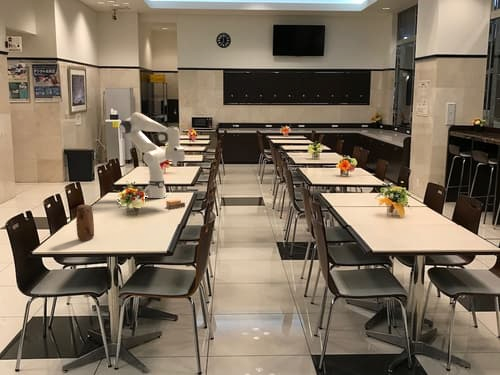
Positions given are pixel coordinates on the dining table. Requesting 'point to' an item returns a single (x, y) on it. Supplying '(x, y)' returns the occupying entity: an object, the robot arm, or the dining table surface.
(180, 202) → the orange block
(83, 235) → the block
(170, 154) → the robot arm
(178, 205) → the walnut board
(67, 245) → the dining table surface
